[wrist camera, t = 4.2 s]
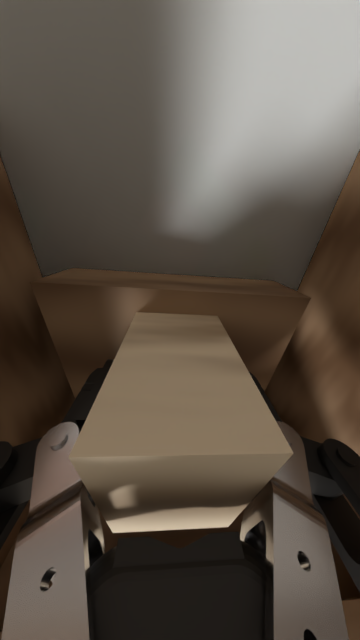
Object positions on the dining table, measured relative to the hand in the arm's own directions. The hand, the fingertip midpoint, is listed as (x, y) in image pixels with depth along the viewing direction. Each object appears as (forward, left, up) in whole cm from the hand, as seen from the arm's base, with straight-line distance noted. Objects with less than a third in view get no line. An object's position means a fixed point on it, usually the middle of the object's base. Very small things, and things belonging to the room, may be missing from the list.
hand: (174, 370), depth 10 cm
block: (0, 0, -1) cm, 1 cm away
